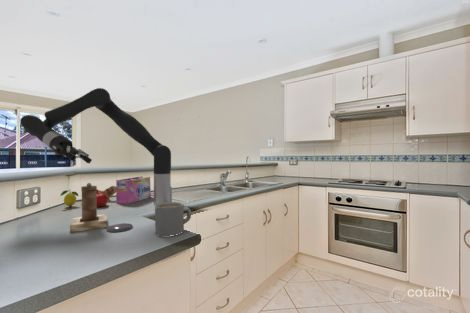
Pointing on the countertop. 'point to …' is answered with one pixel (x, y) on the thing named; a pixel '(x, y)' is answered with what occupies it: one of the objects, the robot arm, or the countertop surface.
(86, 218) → the pepper mill
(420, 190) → the countertop surface
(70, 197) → the lemon
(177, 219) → the coffee mug
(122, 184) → the gum box
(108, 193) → the lion figurine
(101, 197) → the pomegranate
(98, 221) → the holder
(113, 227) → the coaster
